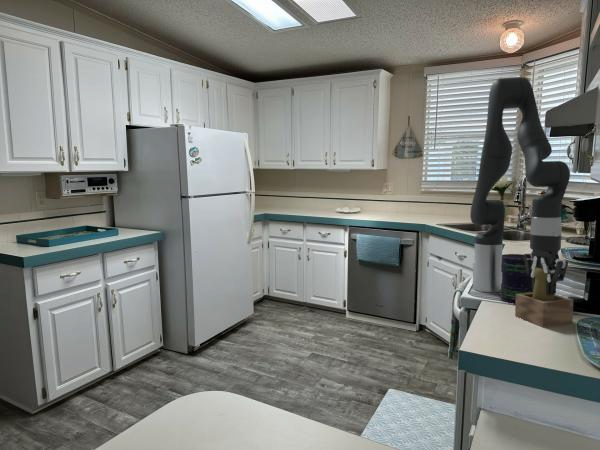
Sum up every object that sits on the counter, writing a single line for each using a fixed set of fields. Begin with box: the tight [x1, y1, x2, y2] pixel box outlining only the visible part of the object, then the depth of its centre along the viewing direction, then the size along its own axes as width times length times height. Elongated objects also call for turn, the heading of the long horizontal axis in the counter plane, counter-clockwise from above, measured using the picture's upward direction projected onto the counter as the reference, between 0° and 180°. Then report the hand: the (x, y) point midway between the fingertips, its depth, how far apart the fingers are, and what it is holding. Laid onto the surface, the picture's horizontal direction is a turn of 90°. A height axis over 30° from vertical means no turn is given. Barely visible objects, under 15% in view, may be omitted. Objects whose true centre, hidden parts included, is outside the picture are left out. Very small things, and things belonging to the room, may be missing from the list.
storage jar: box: [500, 253, 533, 305], centre depth 138 cm, size 10×10×15 cm
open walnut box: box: [514, 292, 574, 329], centre depth 119 cm, size 10×10×7 cm
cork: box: [532, 268, 555, 302], centre depth 118 cm, size 6×6×11 cm
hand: (543, 292), depth 118 cm, fingers closed on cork, 4 cm apart
